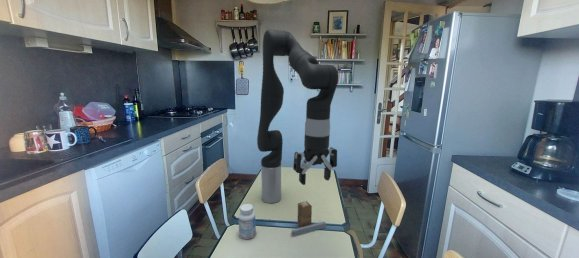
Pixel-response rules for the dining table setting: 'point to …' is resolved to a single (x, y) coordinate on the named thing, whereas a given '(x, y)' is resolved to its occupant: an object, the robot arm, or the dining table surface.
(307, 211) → the walnut block
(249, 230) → the pill bottle
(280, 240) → the dining table surface
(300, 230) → the rail
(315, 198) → the dining table surface
